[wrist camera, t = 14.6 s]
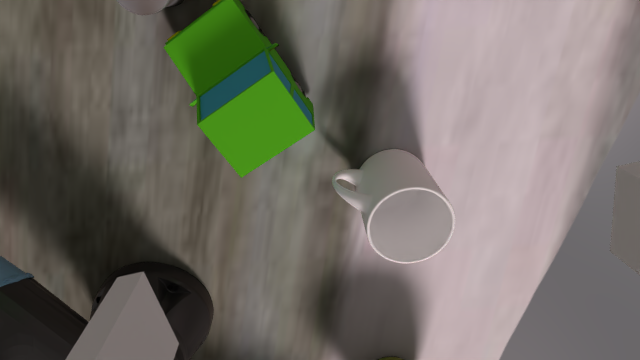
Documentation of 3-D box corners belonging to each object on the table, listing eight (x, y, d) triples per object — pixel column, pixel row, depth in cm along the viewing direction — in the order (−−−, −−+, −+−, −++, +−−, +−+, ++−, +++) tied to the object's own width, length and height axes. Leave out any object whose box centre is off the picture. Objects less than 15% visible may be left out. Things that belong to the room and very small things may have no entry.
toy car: (245, -16, 40) (228, -17, 31) (320, 96, 45) (324, 123, 36) (165, 45, 43) (128, 60, 33) (245, 146, 47) (232, 183, 38)
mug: (343, 127, 47) (353, 163, 37) (437, 159, 49) (471, 202, 39) (317, 192, 50) (320, 241, 40) (407, 220, 52) (431, 273, 42)
